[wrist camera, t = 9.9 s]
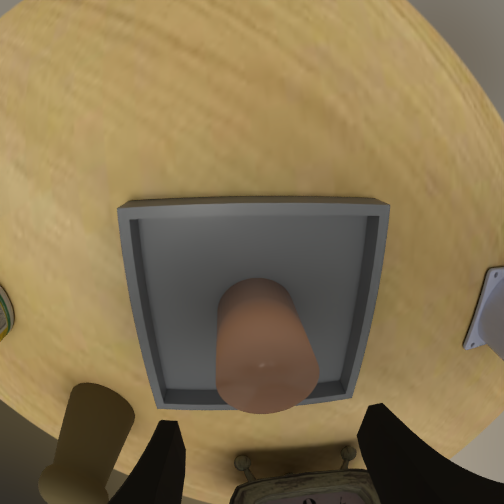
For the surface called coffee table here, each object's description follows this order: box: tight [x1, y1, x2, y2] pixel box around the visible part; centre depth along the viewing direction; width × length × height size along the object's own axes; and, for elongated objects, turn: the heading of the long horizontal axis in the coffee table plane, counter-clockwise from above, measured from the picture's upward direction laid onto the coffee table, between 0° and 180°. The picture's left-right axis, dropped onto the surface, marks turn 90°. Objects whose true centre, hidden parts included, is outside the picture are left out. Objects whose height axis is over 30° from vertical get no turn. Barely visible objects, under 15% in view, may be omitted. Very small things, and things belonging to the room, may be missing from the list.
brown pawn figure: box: [38, 383, 135, 504], centre depth 16 cm, size 6×6×11 cm
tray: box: [117, 196, 390, 410], centre depth 18 cm, size 14×14×2 cm
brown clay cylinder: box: [216, 278, 320, 414], centre depth 15 cm, size 5×5×6 cm
